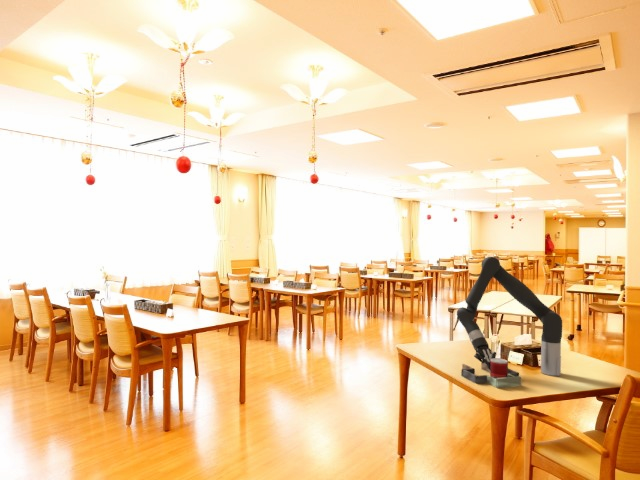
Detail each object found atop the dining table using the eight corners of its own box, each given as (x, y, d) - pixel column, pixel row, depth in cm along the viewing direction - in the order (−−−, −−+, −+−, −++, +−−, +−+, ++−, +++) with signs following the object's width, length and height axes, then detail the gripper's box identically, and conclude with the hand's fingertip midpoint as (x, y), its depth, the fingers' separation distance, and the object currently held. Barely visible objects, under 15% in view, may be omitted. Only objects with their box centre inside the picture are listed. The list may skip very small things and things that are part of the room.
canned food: (509, 385, 208) (510, 362, 208) (492, 384, 208) (493, 362, 208) (504, 379, 215) (504, 358, 215) (488, 379, 216) (488, 357, 216)
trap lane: (452, 371, 228) (452, 363, 228) (492, 368, 235) (492, 359, 235) (487, 389, 201) (487, 380, 201) (530, 385, 208) (530, 375, 208)
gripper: (470, 337, 223) (485, 367, 212) (491, 335, 227) (507, 365, 215) (464, 344, 229) (478, 374, 217) (485, 343, 232) (499, 372, 220)
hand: (492, 369), depth 216 cm, fingers closed
